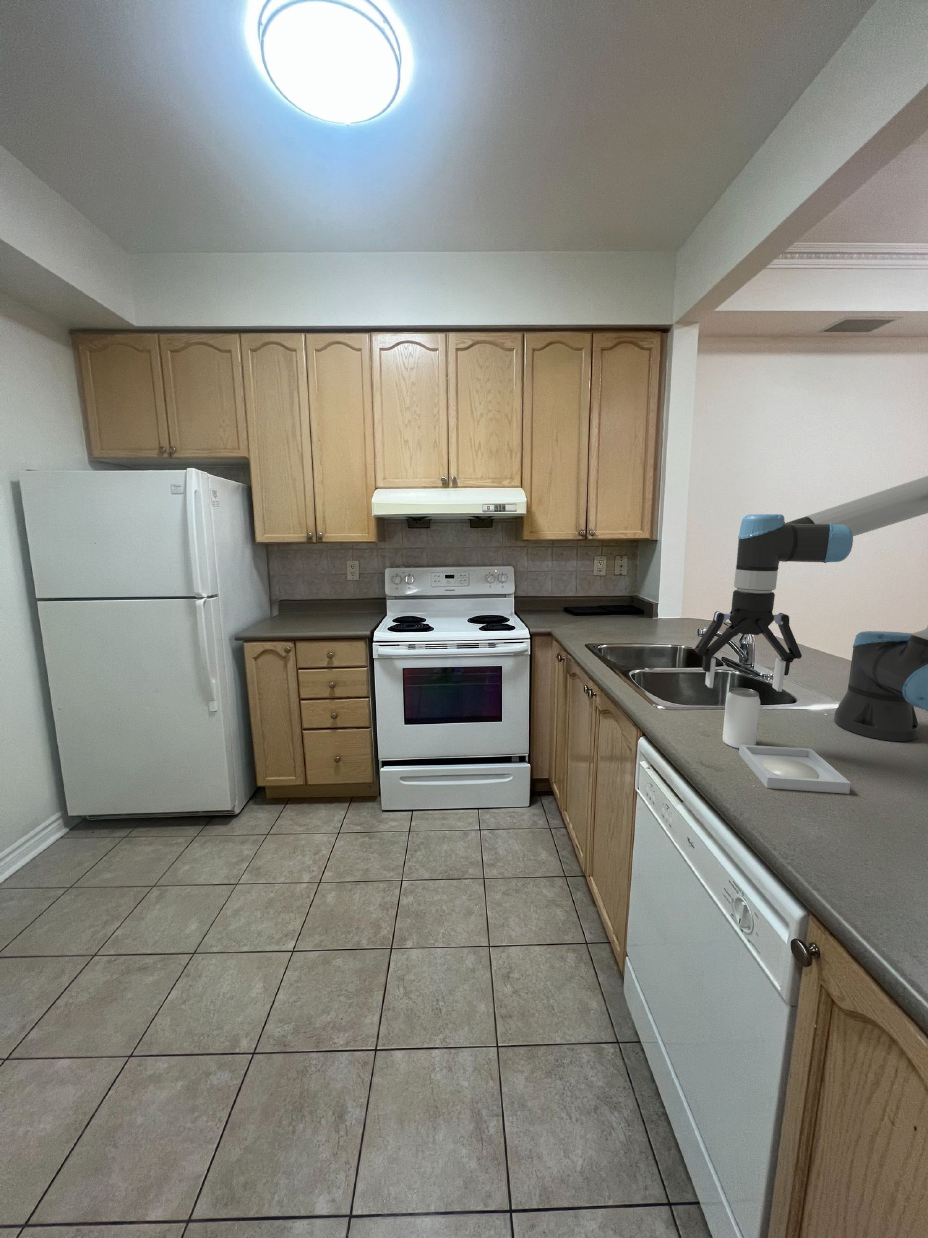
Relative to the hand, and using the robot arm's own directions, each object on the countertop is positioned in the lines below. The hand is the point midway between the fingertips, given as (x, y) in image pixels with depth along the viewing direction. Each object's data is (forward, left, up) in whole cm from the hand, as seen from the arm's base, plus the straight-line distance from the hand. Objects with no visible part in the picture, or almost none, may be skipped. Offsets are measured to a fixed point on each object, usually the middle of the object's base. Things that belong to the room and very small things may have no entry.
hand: (742, 687), depth 105 cm
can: (0, 0, -13) cm, 13 cm away
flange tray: (-5, +12, -13) cm, 18 cm away
